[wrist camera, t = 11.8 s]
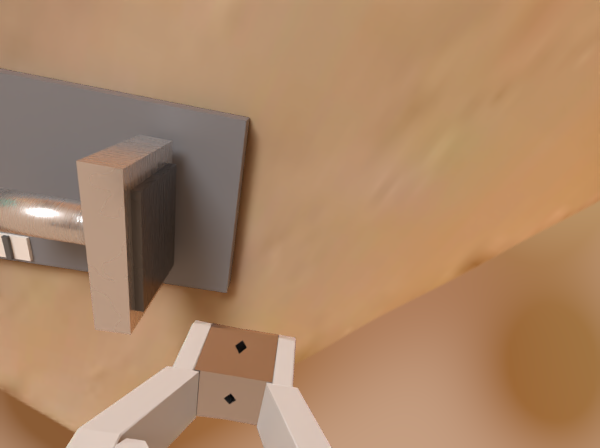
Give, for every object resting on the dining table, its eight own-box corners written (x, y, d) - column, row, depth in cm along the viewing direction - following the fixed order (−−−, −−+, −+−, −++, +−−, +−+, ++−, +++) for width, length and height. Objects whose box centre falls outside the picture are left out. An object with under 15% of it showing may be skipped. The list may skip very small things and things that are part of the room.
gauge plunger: (180, 142, 16) (134, 171, 12) (176, 273, 19) (139, 335, 15) (-7, 107, 15) (-134, 123, 11) (23, 250, 19) (-64, 307, 14)
